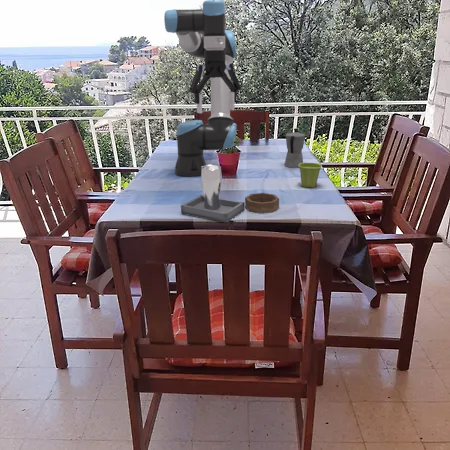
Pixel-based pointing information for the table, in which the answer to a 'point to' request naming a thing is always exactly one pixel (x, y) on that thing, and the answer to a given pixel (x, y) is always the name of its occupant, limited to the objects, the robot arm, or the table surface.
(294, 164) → the coffeepot
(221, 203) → the tray
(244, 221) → the table surface
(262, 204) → the ring holder
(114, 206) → the table surface
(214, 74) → the robot arm
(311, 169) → the plant pot
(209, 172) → the beer glass
